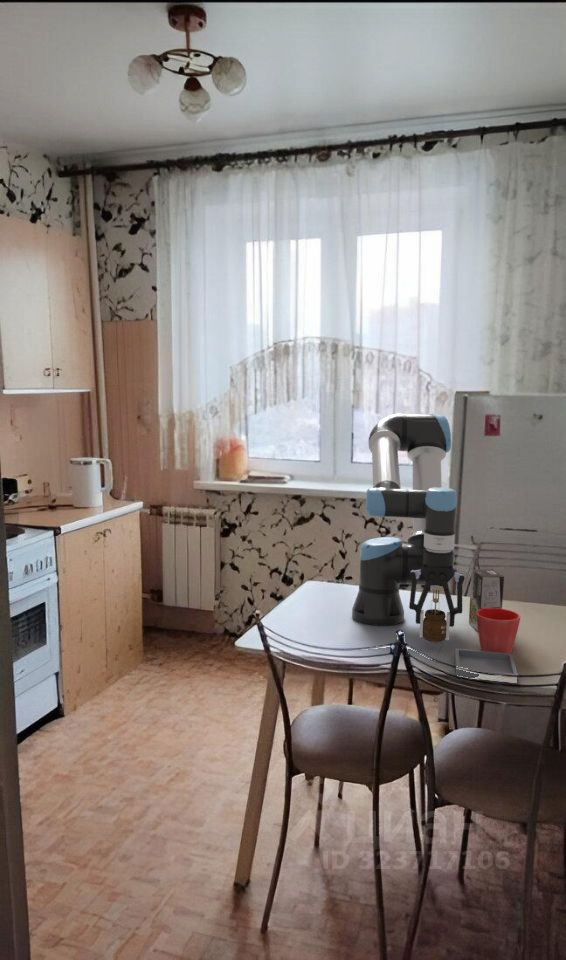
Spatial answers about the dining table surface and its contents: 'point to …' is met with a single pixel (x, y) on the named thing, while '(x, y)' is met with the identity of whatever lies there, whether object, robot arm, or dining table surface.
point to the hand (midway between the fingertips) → (434, 636)
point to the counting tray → (484, 662)
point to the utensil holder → (434, 623)
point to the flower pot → (497, 629)
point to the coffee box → (485, 592)
